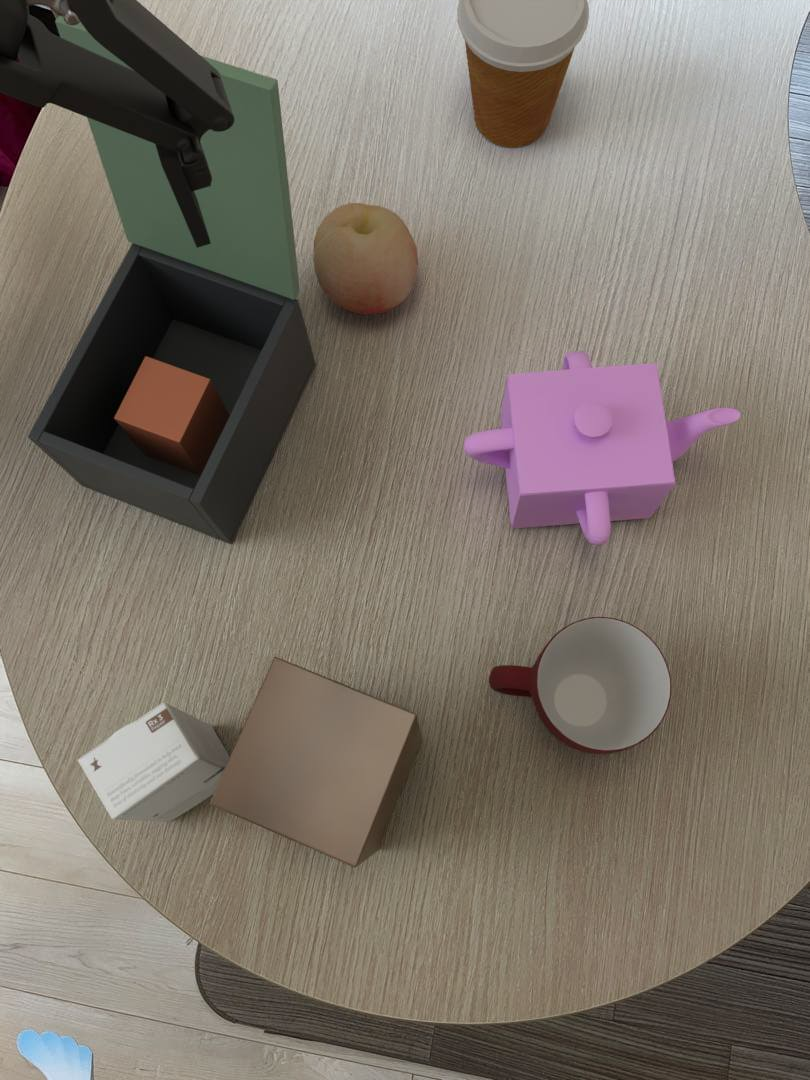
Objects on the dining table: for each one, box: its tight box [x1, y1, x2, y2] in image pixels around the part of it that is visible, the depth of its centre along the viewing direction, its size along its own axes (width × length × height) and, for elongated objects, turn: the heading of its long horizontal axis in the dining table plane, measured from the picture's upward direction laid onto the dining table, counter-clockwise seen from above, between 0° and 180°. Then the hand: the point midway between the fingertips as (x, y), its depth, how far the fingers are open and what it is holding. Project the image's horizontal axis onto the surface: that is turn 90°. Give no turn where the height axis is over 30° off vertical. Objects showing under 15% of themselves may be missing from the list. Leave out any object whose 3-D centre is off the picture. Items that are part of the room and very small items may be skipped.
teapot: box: [463, 350, 741, 546], centre depth 65 cm, size 18×14×10 cm
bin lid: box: [54, 15, 301, 300], centre depth 57 cm, size 16×13×1 cm
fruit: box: [313, 202, 419, 315], centre depth 71 cm, size 8×8×8 cm
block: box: [114, 356, 230, 476], centre depth 68 cm, size 5×5×7 cm
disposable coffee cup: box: [456, 0, 590, 148], centre depth 73 cm, size 10×10×12 cm
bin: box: [27, 243, 317, 545], centre depth 67 cm, size 16×13×10 cm
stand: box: [209, 656, 423, 868], centre depth 56 cm, size 8×8×18 cm
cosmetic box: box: [77, 701, 231, 823], centre depth 59 cm, size 6×4×12 cm
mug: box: [488, 616, 672, 755], centre depth 61 cm, size 10×8×10 cm
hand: (69, 262), depth 48 cm, fingers open, 13 cm apart
